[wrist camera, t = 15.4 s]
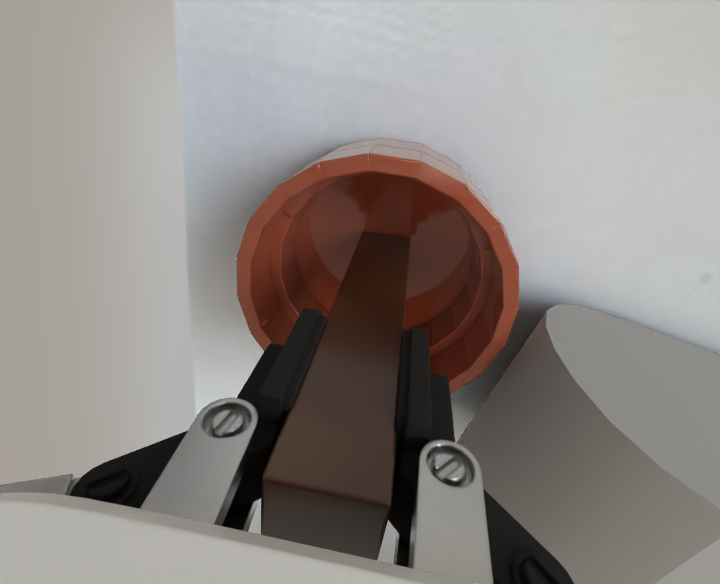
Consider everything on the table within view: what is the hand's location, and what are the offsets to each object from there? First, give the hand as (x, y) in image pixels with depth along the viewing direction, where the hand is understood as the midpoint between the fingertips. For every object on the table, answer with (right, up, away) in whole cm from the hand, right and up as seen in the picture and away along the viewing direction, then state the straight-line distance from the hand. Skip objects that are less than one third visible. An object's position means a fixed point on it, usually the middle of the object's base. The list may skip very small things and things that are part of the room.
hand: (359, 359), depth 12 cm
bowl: (+1, +4, +8) cm, 9 cm away
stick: (+1, +4, +8) cm, 9 cm away
